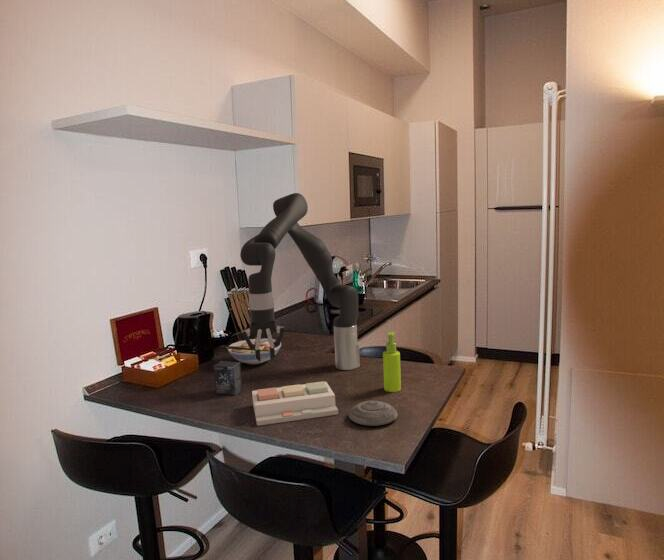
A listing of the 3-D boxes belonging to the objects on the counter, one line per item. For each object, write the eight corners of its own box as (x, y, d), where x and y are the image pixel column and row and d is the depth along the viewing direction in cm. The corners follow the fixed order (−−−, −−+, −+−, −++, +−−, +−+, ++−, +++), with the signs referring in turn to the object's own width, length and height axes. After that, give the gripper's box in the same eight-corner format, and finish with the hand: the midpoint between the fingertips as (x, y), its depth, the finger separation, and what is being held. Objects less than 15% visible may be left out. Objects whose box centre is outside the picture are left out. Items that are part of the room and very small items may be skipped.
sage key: (324, 389, 167) (323, 381, 167) (327, 396, 162) (327, 387, 161) (306, 392, 166) (305, 383, 166) (309, 398, 160) (309, 389, 160)
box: (215, 394, 178) (213, 365, 177) (223, 388, 183) (221, 360, 182) (235, 395, 176) (232, 366, 174) (242, 389, 181) (240, 361, 180)
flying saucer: (372, 405, 163) (371, 388, 162) (408, 418, 151) (407, 401, 151) (338, 419, 153) (337, 402, 152) (373, 434, 142) (372, 416, 141)
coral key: (276, 396, 164) (275, 387, 164) (278, 402, 158) (278, 393, 158) (258, 398, 163) (257, 389, 162) (259, 405, 157) (258, 396, 156)
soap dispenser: (403, 385, 178) (401, 330, 175) (399, 392, 171) (397, 336, 168) (386, 384, 180) (385, 330, 177) (382, 391, 173) (380, 335, 170)
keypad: (326, 395, 172) (326, 381, 171) (338, 414, 156) (337, 399, 155) (253, 405, 166) (252, 390, 166) (257, 425, 150) (255, 410, 150)
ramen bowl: (294, 356, 218) (293, 338, 217) (266, 373, 198) (265, 353, 196) (246, 352, 228) (244, 335, 227) (215, 367, 208) (213, 348, 207)
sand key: (300, 392, 166) (299, 384, 165) (303, 399, 160) (303, 390, 160) (282, 395, 164) (281, 386, 164) (284, 402, 159) (284, 392, 158)
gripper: (282, 302, 161) (285, 354, 164) (238, 306, 158) (242, 359, 161) (285, 306, 154) (289, 360, 156) (239, 310, 151) (243, 366, 153)
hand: (265, 359), depth 158 cm, fingers open, 3 cm apart
